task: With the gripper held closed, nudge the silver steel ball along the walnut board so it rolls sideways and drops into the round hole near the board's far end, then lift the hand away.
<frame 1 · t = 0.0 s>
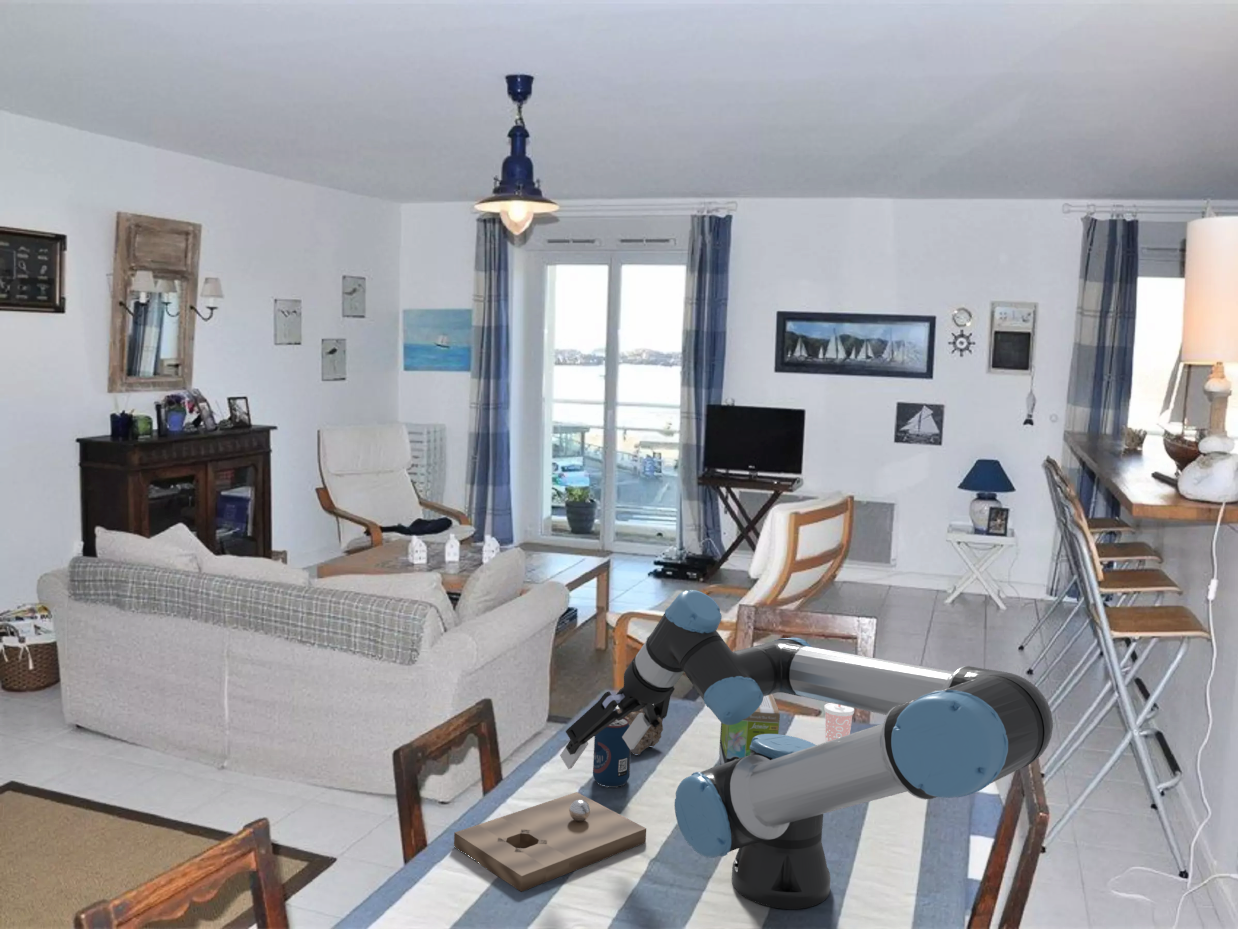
hand: (597, 752, 179), 15 cm above the table, tool tilted 35°, fingers open, 13 cm apart
tea box: (746, 771, 213), on the table
steel ball: (579, 810, 182), point 4 cm above the table, touching walnut board
soda can: (610, 782, 205), on the table
beverage cup: (836, 750, 226), on the table
walnut board: (551, 845, 178), on the table
brown rock: (632, 748, 222), on the table
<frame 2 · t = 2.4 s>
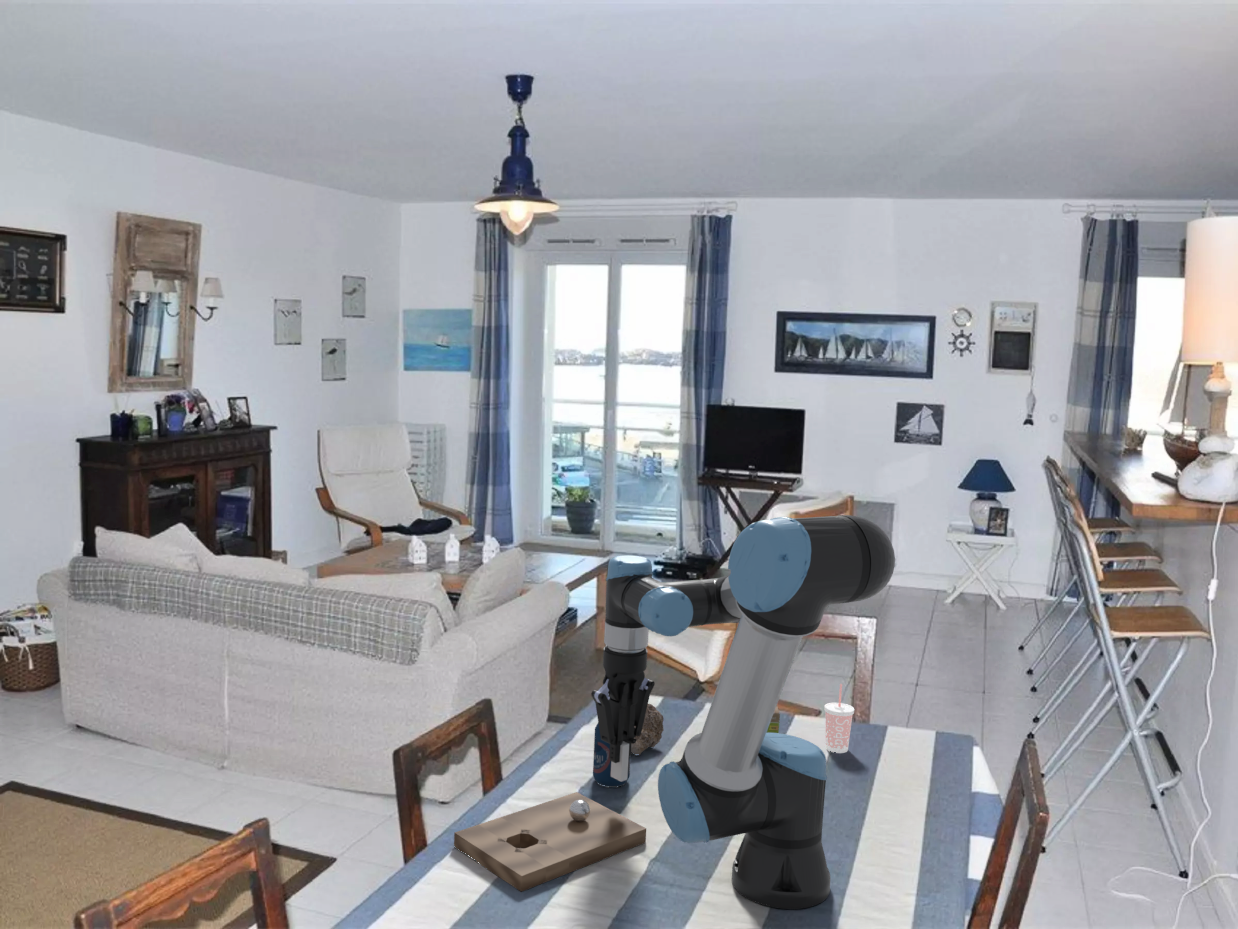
hand: (618, 777, 188), 8 cm above the table, tool pointing down, fingers closed
nothing on the table moved.
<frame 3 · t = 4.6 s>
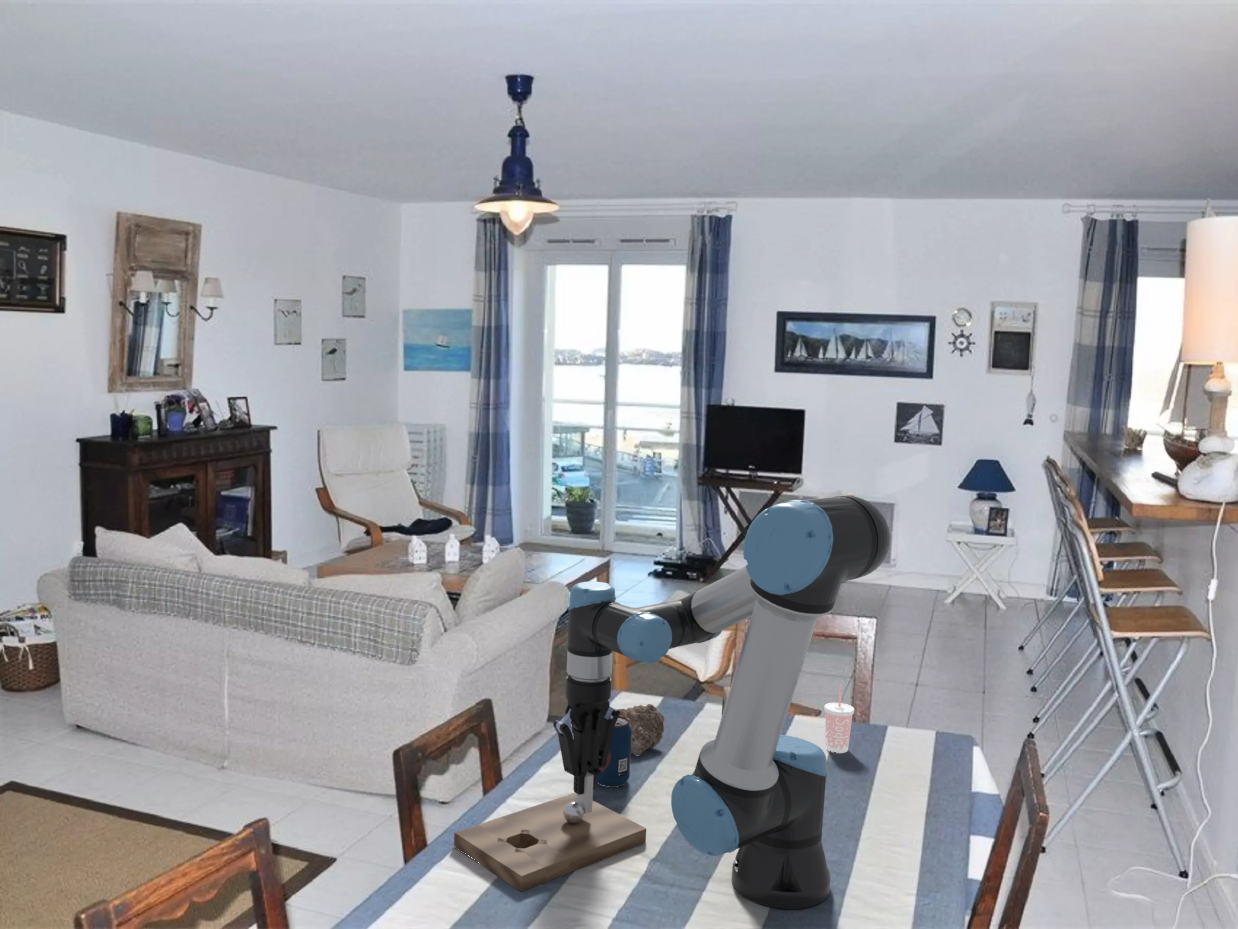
hand: (583, 809, 183), 4 cm above the table, tool pointing down, fingers closed
steel ball: (573, 812, 181), point 4 cm above the table, tilted 41°, touching gripper, walnut board
everything else where it was.
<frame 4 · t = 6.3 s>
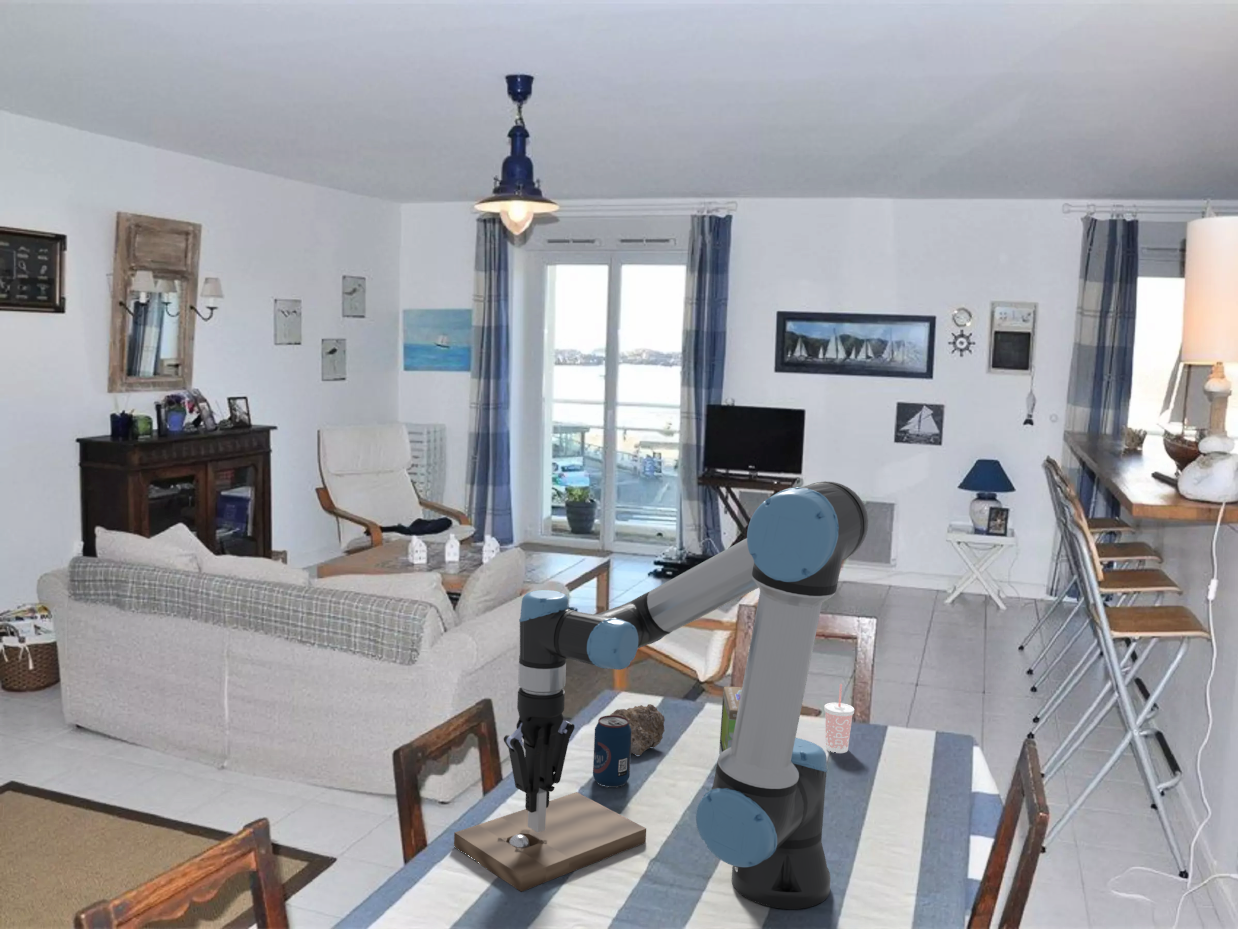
hand: (536, 828, 176), 4 cm above the table, tool pointing down, fingers closed
steel ball: (518, 845, 174), point 2 cm above the table, tilted 61°
everything else where it was.
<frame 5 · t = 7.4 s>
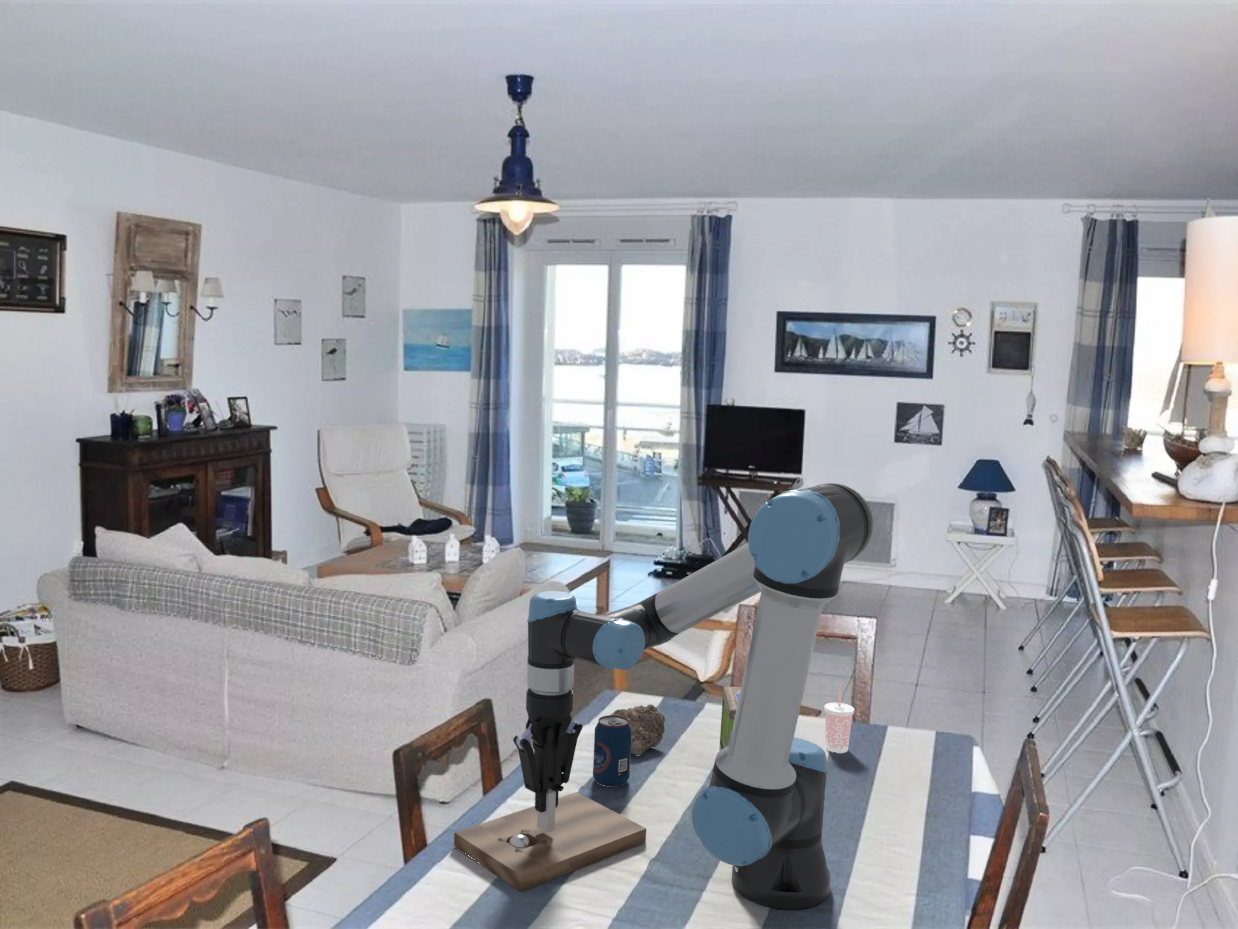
hand: (545, 828, 177), 3 cm above the table, tool pointing down, fingers closed
nothing on the table moved.
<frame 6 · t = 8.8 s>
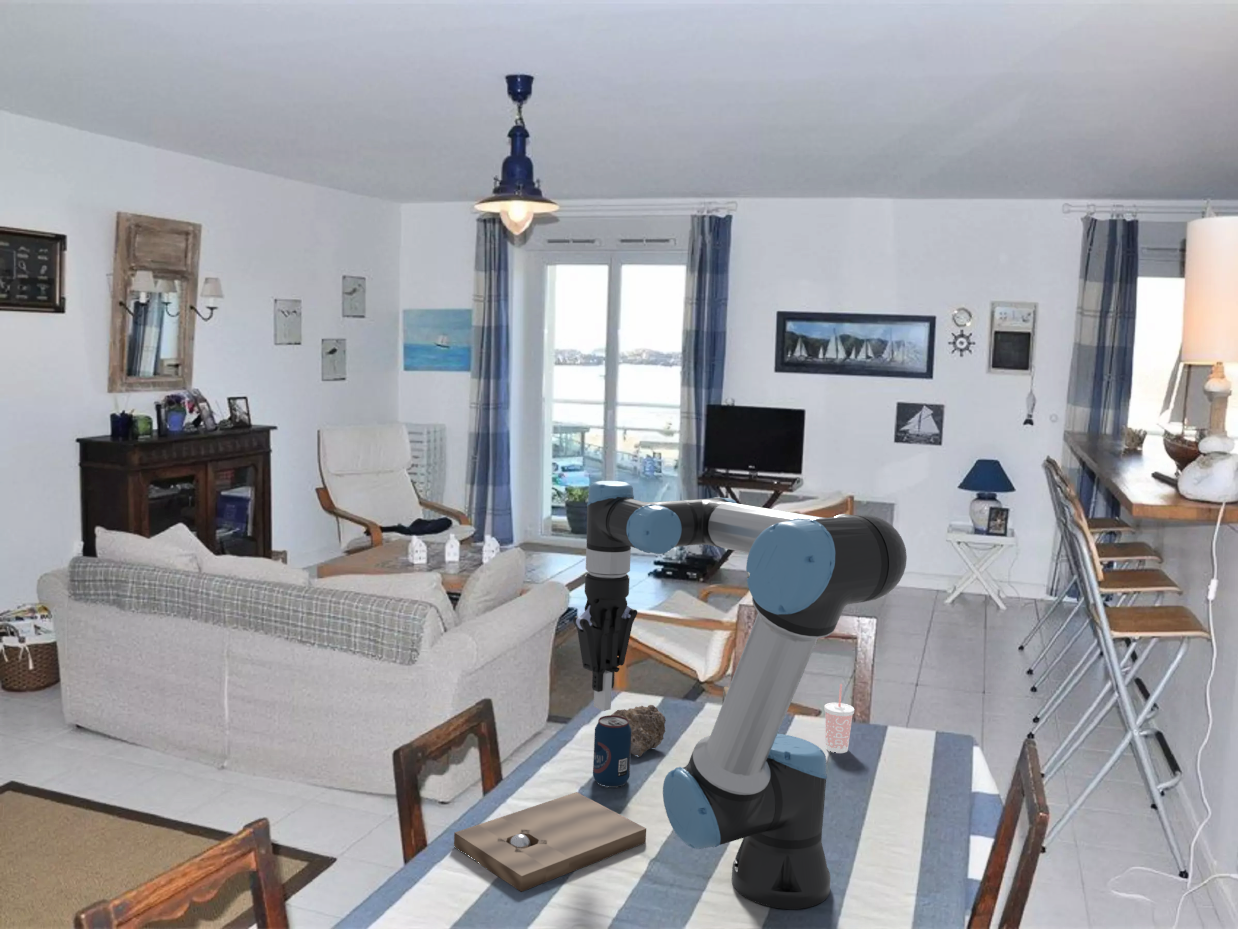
hand: (602, 707, 185), 20 cm above the table, tool pointing down, fingers closed
nothing on the table moved.
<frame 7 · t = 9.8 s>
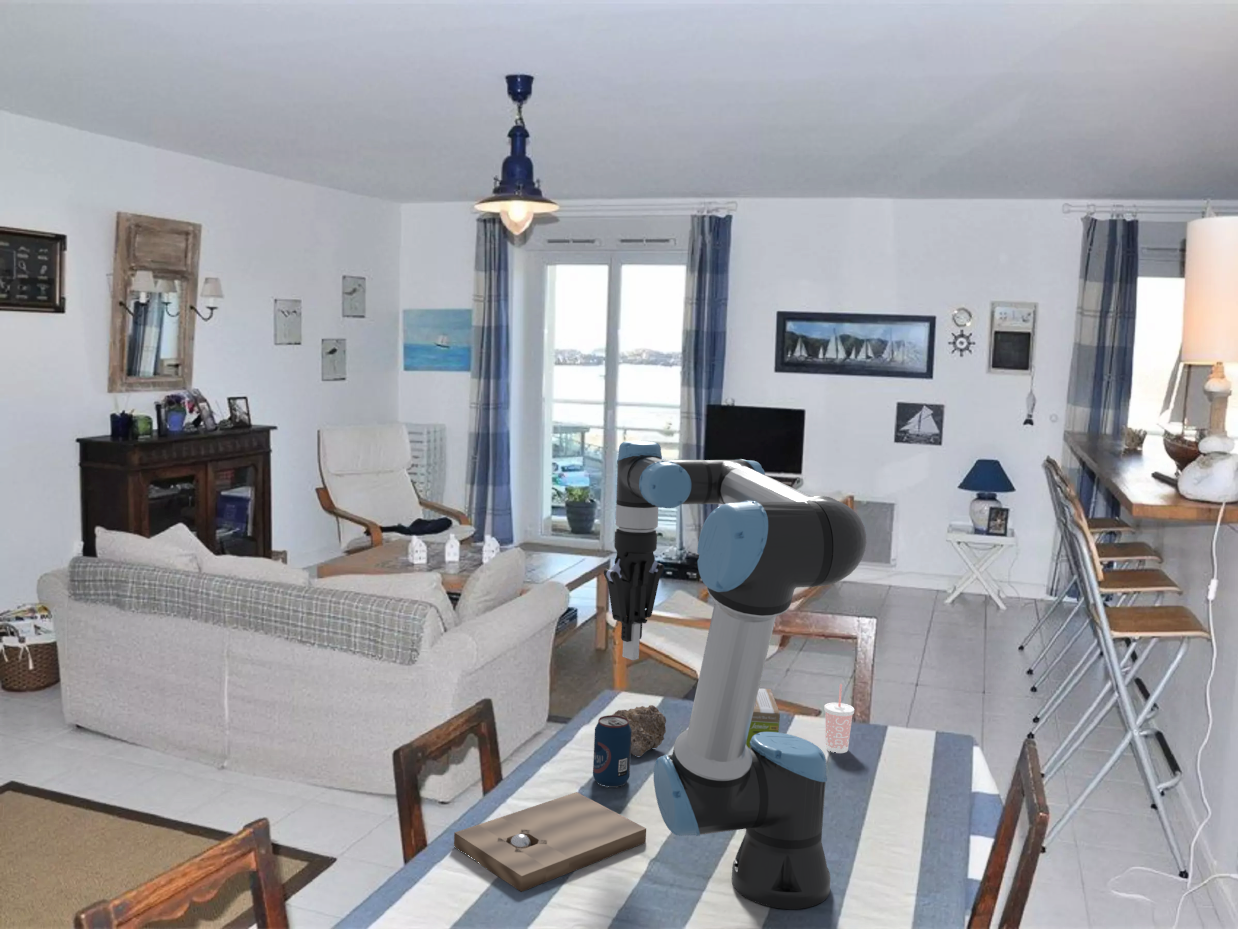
hand: (630, 657, 194), 26 cm above the table, tool pointing down, fingers closed
nothing on the table moved.
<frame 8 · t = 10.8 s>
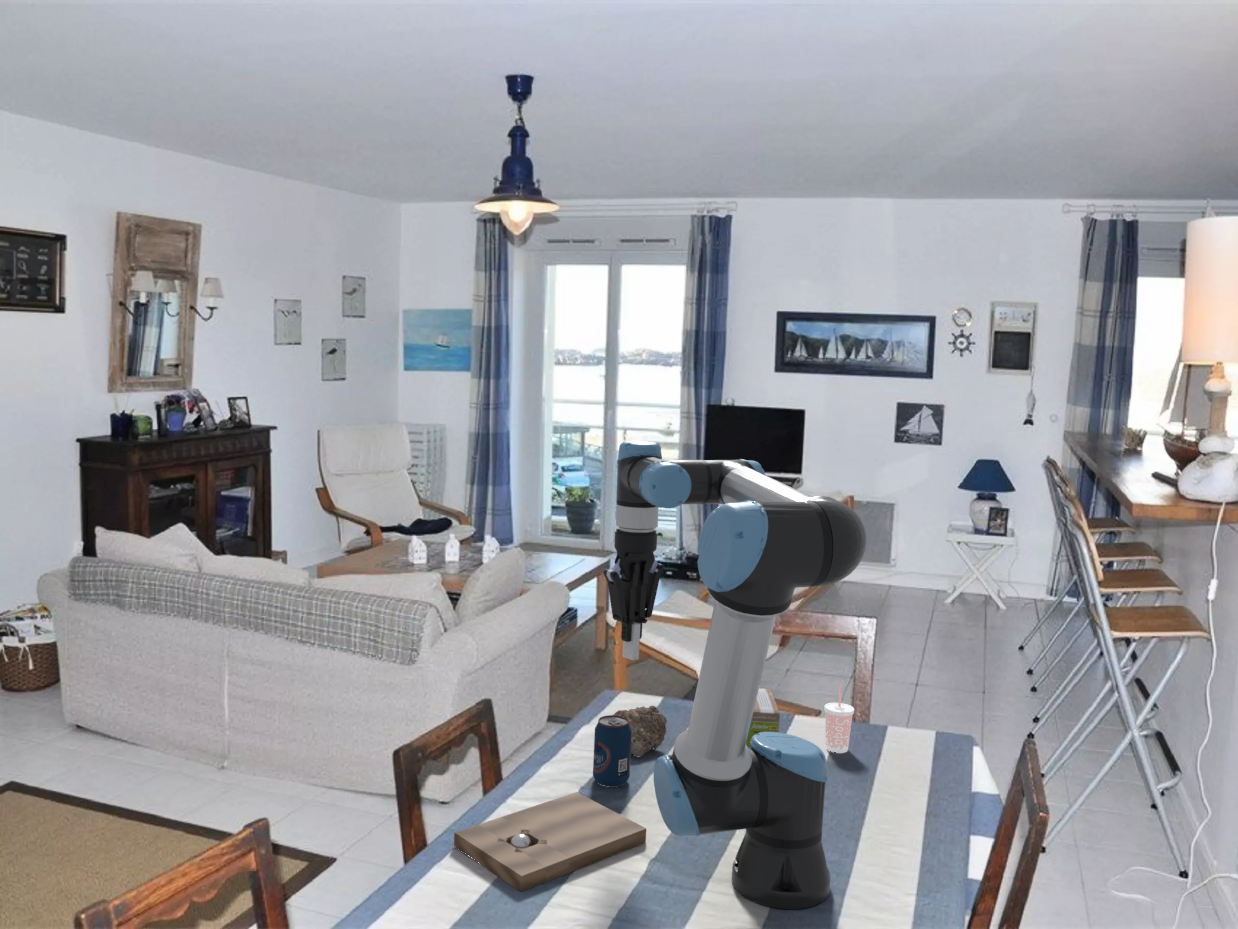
hand: (630, 657, 194), 26 cm above the table, tool pointing down, fingers closed
at the end: steel ball 0.3 cm from the target spot on the walnut board, point 1.7 cm above the walnut board's base; steel ball moved 12.5 cm from its start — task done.
